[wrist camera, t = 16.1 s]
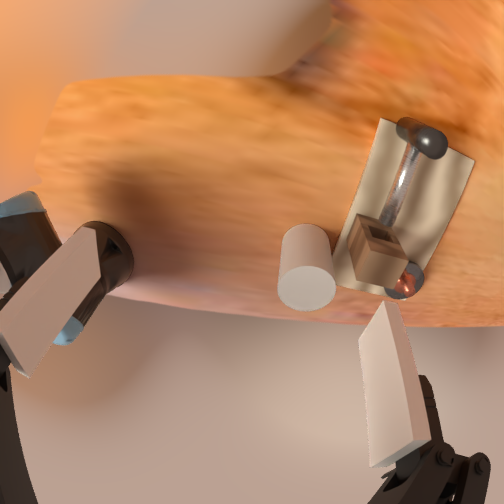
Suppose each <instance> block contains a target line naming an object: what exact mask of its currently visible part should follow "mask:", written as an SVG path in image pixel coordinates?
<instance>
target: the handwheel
mask: <svg viewBox="0 0 504 504" xmlns="http://www.w3.org/2000/svg"><path fill="white" fill-rule="evenodd" d="M423 282H424V274H423V271H422V269H421V267H420V266H419V265H418V264H417V263H415V262H413V261H409V262H408V264H407V265H406V267H405V269H404V271H403V273H402V275H401V276H400V278H399V280H398V282H397V284H396V285H395V287H394V289H390V288H386V287H384V289H385V292H386V294H387V295H388V296H389V297H391V298H394V299H405V298H408V297H411V296H413V295H414V294H415V293H417V292H418V291H419V289H420V288H421V287H422V285H423Z"/></svg>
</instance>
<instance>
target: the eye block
mask: <svg viewBox="0 0 504 504" xmlns="http://www.w3.org/2000/svg"><path fill="white" fill-rule="evenodd" d="M406 145H407V142H405V141H404V140H402V139H401V138H400V137H399V136H398V135H397V133H396V124H395V123H393V122H390V121H387V120H385V119H382V118H380V122H379V125H378V128H377V131H376V134H375V138H374V141H373V144H372V147H371V150H370V153H369V156H368V159H367V162H366V165H365V168H364V171H363V174H362V177H361V180H360V182H359V185H358V188H357V191H356V194H355V196H354V199H353V202H352V205H351V207H350V210H349V213H348V215H347V218H346V221H345V223H344V226H343V228H342V231H341V233H340V236H339V239H338V241H337V244H336V246H335V249H334V251H333V254H332V262H333V269H334V276H335V283H336V285H338V286H342V287H347V288H351V289H355V290H360V291H364V292H368V293H373V294H377V295H382V296H386V297H389V296H388V295H387V294H386V292H385V289H384V287H386V288H390V289H394V287H395V285H396V284H397V282H398V280H399V278H400V276H401V275H402V273H403V271H404V269H405V267H406V265H407V264H408V262H409V261H413V262H415V263H417V264H418V265H419V266H420V267H421V269H422V271H423V270H424V269H425V267H426V265H427V263H428V261H429V260H430V258H431V256H432V254H433V252H434V250H435V249H436V247H437V245H438V243H439V241H440V239H441V237H442V235H443V233H444V231H445V229H446V227H447V225H448V223H449V221H450V219H451V216H452V214H453V212H454V210H455V208H456V206H457V203H458V201H459V199H460V197H461V194H462V192H463V190H464V187H465V185H466V182H467V180H468V177H469V175H470V172H471V170H472V167H473V165H474V162H475V161H474V160H472V159H470V158H468V157H467V156H465V155H463V154H461V153H459V152H457V151H455V150H453V149H451V148H449V147H448V149H447V152H446V154H445V155H444V156H443V157H442V158H440V159H437V160H433V159H430V158H428V157H427V156H426V155H424V154H423V153H422V156H421V158H420V161H419V164H418V166H417V169H416V172H415V174H414V177H413V180H412V182H411V185H410V187H409V190H408V192H407V195H406V197H405V200H404V202H403V204H402V207H401V209H400V211H399V214H398V216H397V218H396V221H395V223H394V225H393V227H388V226H385V225H383V224H382V223H380V222H379V220H378V219H379V216H380V214H381V212H382V209H383V207H384V204H385V202H386V199H387V197H388V194H389V192H390V189H391V187H392V184H393V181H394V179H395V176H396V173H397V171H398V168H399V165H400V162H401V160H402V157H403V154H404V151H405V148H406ZM390 298H391V297H390ZM406 299H407V298H405V299H399V300H404V301H405V300H406Z"/></svg>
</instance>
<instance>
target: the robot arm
mask: <svg viewBox="0 0 504 504" xmlns="http://www.w3.org/2000/svg"><path fill="white" fill-rule="evenodd" d="M133 265H134V262H133V256H132V252H131V250H130V248H129V246H128V244H127V242H126V241H125V240H124V238H123V237H122V236H121V235H120V234H119V233H118V232H117V231H116V230H114V229H113V228H112V227H110V226H108V225H106V224H104V223H101V222H94V221H93V222H87V223H85V224H83V225H82V226H81V227H79V228H78V229H77V230H76V231H75V233H74V234H73V235H72V236H71V237H70V238H69V239H68V240H67V241H66V242H65V243H64V244H63V245H62V243H61V241H60V239H59V237H58V235H57V233H56V231H55V229H54V227H53V225H52V223H51V221H50V219H49V217H48V215H47V210H46V209H44V207H43V205H42V203H41V201H40V199H39V197H38V195H37V194H36V193H35V192H32V191H26V192H24V193H21V194H19V195H17V196H14V197H12V198H10V199H8V200H6V201H4V202H2V203H0V293H2V294H5V295H4V296H3V299H0V504H38V502H37V499H36V496H35V493H34V490H33V487H32V484H31V481H30V478H29V474H28V470H27V467H26V463H25V459H24V456H23V451H22V447H21V443H20V438H19V433H18V428H17V423H16V417H15V410H14V403H13V396H12V387H11V376H10V370H9V367H8V366H9V365H10V363H12V364H13V366H14V367H15V368H16V370H17V371H18V372H20V373H21V374H23V375H24V376H26V377H28V378H30V377H31V376H32V374H33V372H34V371H35V369H36V367H37V366H38V364H39V363H40V361H41V359H42V358H43V356H44V355H45V354H46V352H47V350H48V349H49V347H50V346H51V344H52V343H54V344H58V345H68V344H70V343H72V342H73V341H74V340H75V339H76V337H77V336H78V335H79V334H80V332H82V330H83V329H84V326H85V325H86V323H87V321H88V320H89V319H90V317H91V316H92V314H93V313H94V311H95V310H96V308H97V307H98V305H99V304H100V302H101V301H102V299H103V298H104V296H105V295H106V294H107V293H109V292H110V291H112V290H113V289H115V288H116V287H119V286H121V285H122V284H123V283H124V282H125V281H126V280H127V279H128V277H129V276H130V274H131V273H132V270H133ZM358 344H359V351H360V359H361V367H362V374H363V384H364V392H365V403H366V414H367V426H368V441H369V459H370V468H371V467H372V468H373V467H387V466H389V465H391V464H393V463H394V462H396V468H395V469H393V470H391V471H390V472H388V473H386V474H384V475H383V476H382V477H381V478H382V479H384V478H386V477H388V478H387V479H386V481H385V482H384V483H383V484H382V486H381V487H380V488H379V490H378V491H377V492H376V494H375V495H374V496H373V497H372V499H371V500H370V501H369V502H368V504H484V502H485V497H486V492H487V487H488V482H489V476H490V470H491V469H490V468H491V464H490V461H489V459H488V457H487V456H486V455H485V454H483V453H480V452H479V453H476V454H474V455H473V456H471V457H465V456H462V455H458V454H455V451H454V449H453V448H452V447H451V446H450V445H449V444H447V443H445V442H444V440H443V436H442V431H441V426H440V421H439V417H438V411H437V408H436V403H435V399H434V394H433V390H432V386H431V384H430V383H429V381H428V379H427V378H426V376H424V375H418V373H417V369H416V365H415V361H414V357H413V354H412V350H411V346H410V343H409V339H408V336H407V333H406V329H405V326H404V322H403V319H402V316H401V313H400V310H399V307H398V304H397V303H395V302H390V301H386V300H383V301H382V303H381V304H380V306H379V308H378V309H377V311H376V313H375V314H374V316H373V317H372V319H371V321H370V322H369V324H368V325H367V327H366V329H365V330H364V332H363V333H362V335H361V336H360V338H359V339H358ZM453 495H455V496H454V499H453V501H452V498H453Z"/></svg>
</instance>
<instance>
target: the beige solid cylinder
mask: <svg viewBox="0 0 504 504" xmlns="http://www.w3.org/2000/svg"><path fill="white" fill-rule="evenodd" d="M277 291H278V295H279V298H280V299H281V301H282V302H283V303H284V304H285V305H287V306H288V307H290V308H292V309H294V310H298V311H314V310H318V309H321V308H323V307H324V306H326V305H327V304H329V303H330V302H331V300H332V299H333V297H334V295H335V292H336V283H335V276H334V269H333V262H332V256H331V249H330V243H329V238H328V236H327V234H326V233H325V231H324V230H322V229H321V228H320V227H318V226H316V225H313V224H299V225H296V226H294V227H292V228H290V229H289V230H288V231H287V232H286V233H285V235H284V237H283V240H282V248H281V258H280V268H279V278H278V287H277Z"/></svg>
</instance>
